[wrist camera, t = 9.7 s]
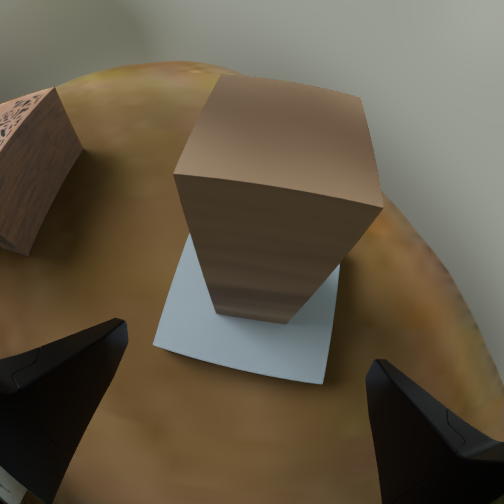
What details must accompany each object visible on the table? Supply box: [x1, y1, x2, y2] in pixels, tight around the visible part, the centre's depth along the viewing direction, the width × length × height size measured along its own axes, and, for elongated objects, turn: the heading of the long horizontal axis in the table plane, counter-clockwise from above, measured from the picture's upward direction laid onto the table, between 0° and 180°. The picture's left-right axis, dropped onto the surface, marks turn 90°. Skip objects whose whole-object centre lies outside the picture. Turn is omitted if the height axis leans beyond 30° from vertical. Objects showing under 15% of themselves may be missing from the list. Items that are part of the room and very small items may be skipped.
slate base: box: [153, 233, 340, 384], centre depth 19 cm, size 11×11×2 cm
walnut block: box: [173, 74, 383, 324], centre depth 12 cm, size 4×4×13 cm
